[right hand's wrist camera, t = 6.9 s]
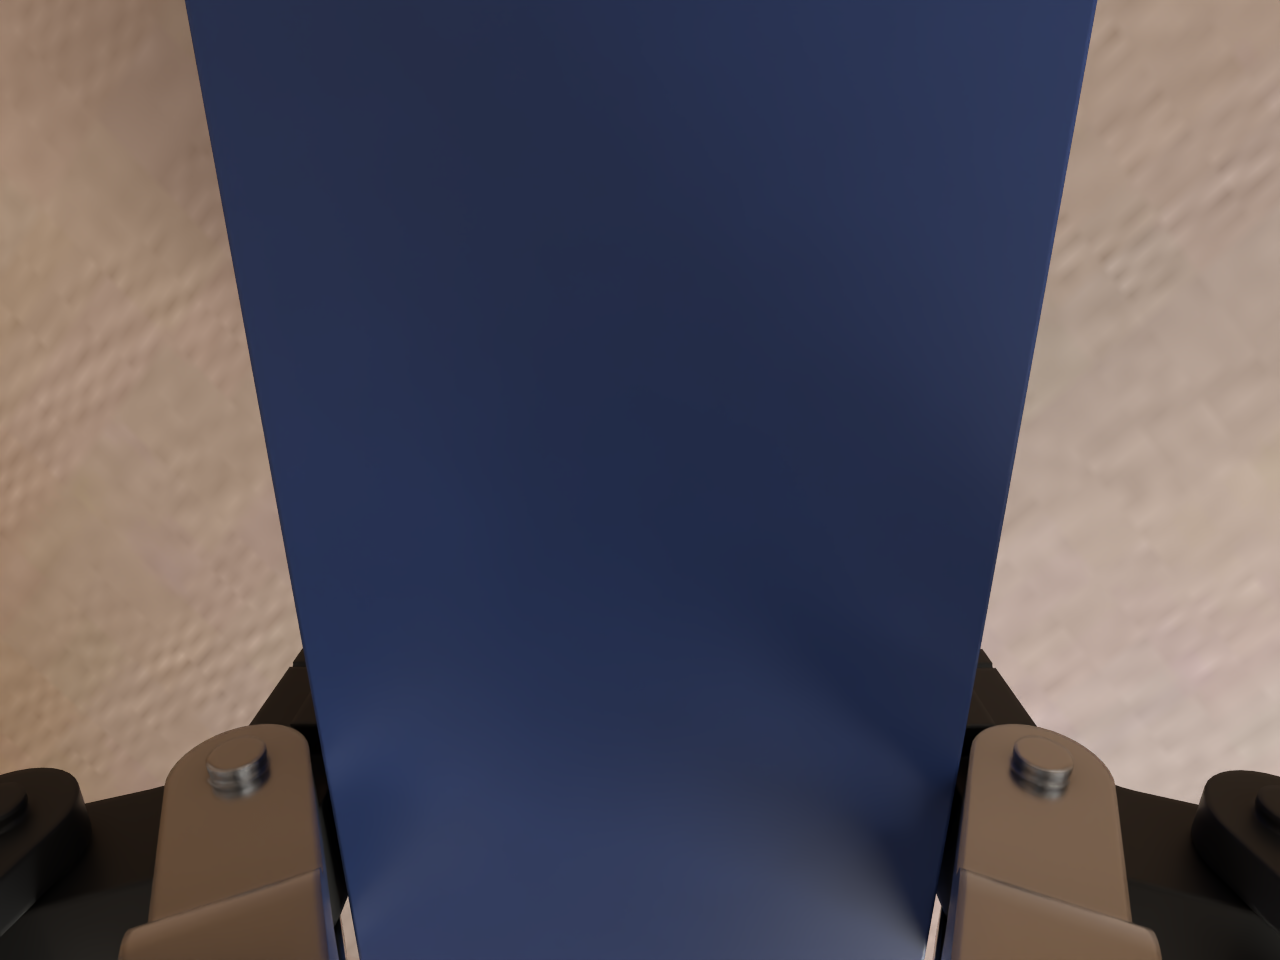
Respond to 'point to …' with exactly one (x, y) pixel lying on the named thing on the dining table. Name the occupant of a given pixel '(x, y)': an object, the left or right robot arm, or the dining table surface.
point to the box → (641, 442)
